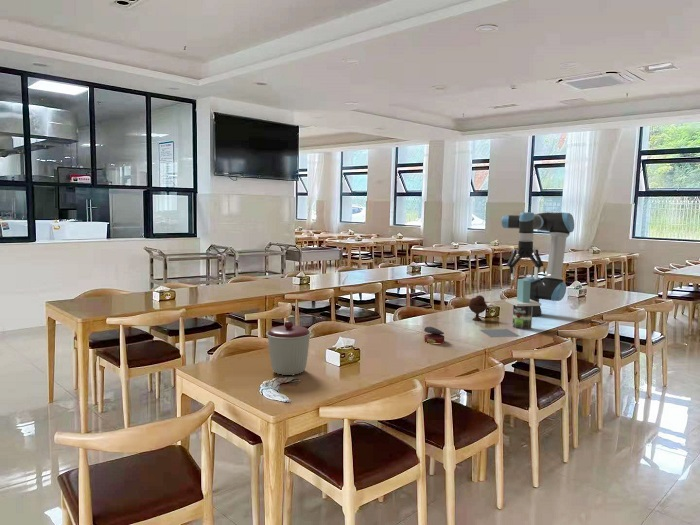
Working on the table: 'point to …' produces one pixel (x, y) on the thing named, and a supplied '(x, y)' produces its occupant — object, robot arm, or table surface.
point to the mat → (499, 333)
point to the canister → (288, 348)
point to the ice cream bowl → (477, 306)
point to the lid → (523, 295)
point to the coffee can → (522, 317)
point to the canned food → (433, 335)
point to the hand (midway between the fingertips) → (524, 279)
